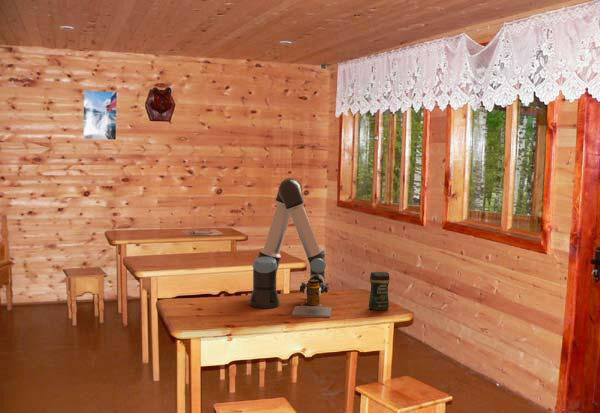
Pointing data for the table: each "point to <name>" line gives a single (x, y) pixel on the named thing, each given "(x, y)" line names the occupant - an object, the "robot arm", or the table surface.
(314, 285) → the condiment
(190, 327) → the table surface
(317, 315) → the plain gray board
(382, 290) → the coffee jar
